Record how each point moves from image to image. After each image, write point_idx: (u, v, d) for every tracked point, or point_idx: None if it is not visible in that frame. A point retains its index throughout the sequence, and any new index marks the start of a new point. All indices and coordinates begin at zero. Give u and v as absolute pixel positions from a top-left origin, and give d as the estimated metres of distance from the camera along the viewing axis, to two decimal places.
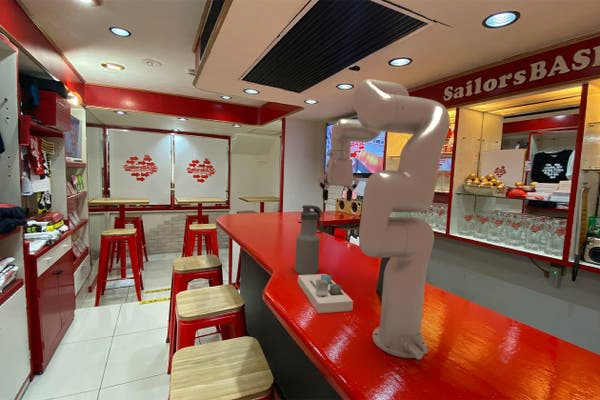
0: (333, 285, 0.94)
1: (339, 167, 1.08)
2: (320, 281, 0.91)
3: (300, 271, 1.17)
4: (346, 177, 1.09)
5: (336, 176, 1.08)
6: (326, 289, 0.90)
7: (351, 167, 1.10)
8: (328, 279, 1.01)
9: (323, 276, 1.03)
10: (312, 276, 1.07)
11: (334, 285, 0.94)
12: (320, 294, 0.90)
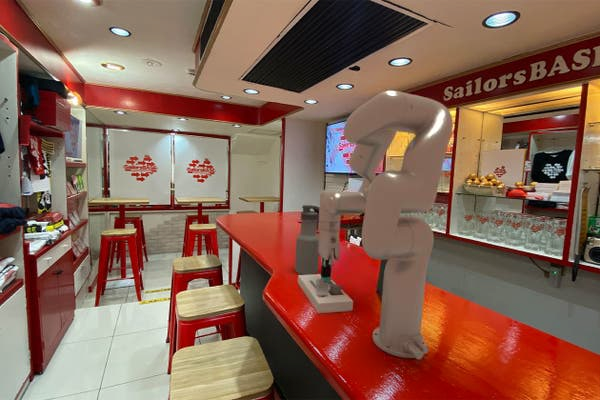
0: (333, 285, 0.94)
1: None
2: (320, 281, 0.91)
3: (300, 271, 1.17)
4: None
5: None
6: (326, 289, 0.90)
7: None
8: (328, 279, 1.01)
9: None
10: (312, 276, 1.07)
11: (334, 285, 0.94)
12: (320, 294, 0.90)
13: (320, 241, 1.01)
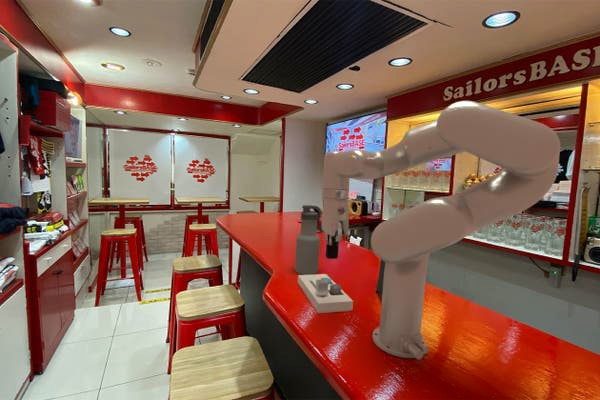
0: (333, 285, 0.94)
1: None
2: (320, 281, 0.91)
3: (300, 271, 1.17)
4: None
5: None
6: (326, 289, 0.90)
7: None
8: (328, 282, 1.01)
9: None
10: (312, 276, 1.07)
11: (334, 285, 0.94)
12: (320, 294, 0.90)
13: (325, 214, 0.83)
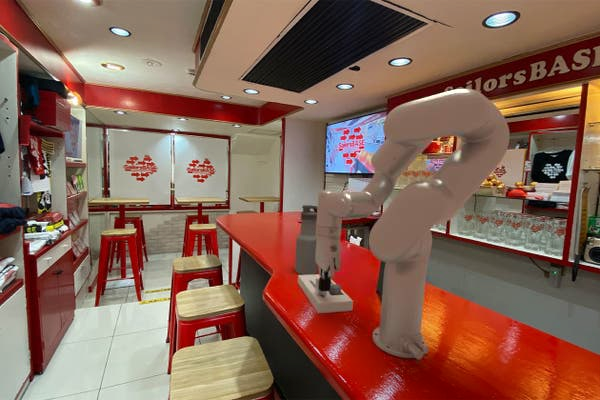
0: (333, 285, 0.94)
1: None
2: None
3: (300, 271, 1.17)
4: None
5: None
6: None
7: None
8: None
9: None
10: (312, 276, 1.07)
11: (334, 285, 0.94)
12: (319, 293, 0.90)
13: (318, 249, 0.87)
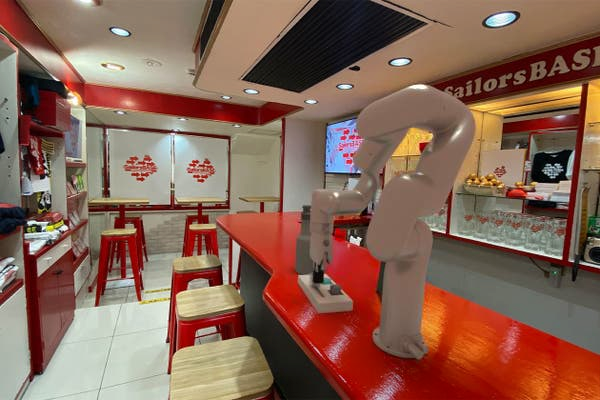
0: (333, 285, 0.94)
1: None
2: None
3: (300, 271, 1.17)
4: None
5: None
6: None
7: None
8: (328, 282, 1.01)
9: None
10: None
11: (334, 285, 0.94)
12: (313, 286, 0.96)
13: (312, 244, 0.93)
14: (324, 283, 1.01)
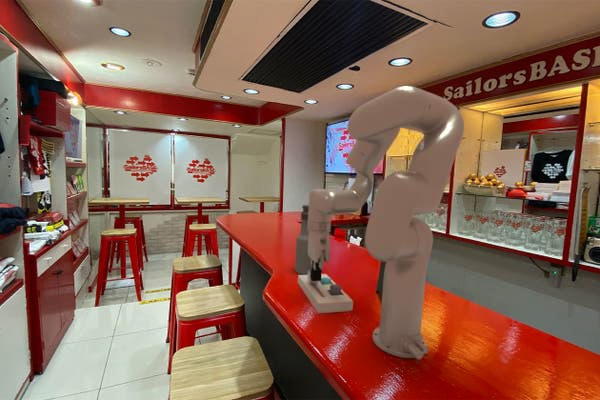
0: (333, 285, 0.94)
1: None
2: None
3: (300, 271, 1.17)
4: None
5: None
6: None
7: None
8: (328, 282, 1.01)
9: (322, 279, 1.03)
10: None
11: (334, 285, 0.94)
12: (311, 283, 0.99)
13: (310, 242, 0.96)
14: (324, 283, 1.01)
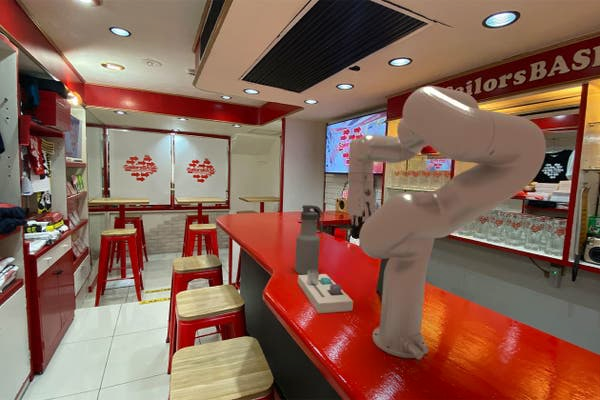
0: (333, 285, 0.94)
1: None
2: (311, 271, 1.00)
3: (300, 271, 1.17)
4: None
5: None
6: (317, 278, 0.99)
7: None
8: (328, 282, 1.01)
9: (322, 279, 1.03)
10: None
11: (334, 285, 0.94)
12: (311, 283, 0.99)
13: (351, 197, 0.89)
14: (324, 283, 1.01)
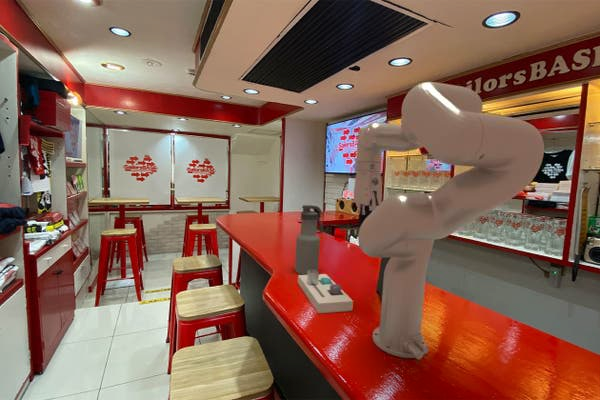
0: (333, 285, 0.94)
1: None
2: (311, 271, 1.00)
3: (300, 271, 1.17)
4: None
5: None
6: (317, 278, 0.99)
7: None
8: (328, 282, 1.01)
9: (322, 279, 1.03)
10: None
11: (334, 285, 0.94)
12: (311, 283, 0.99)
13: (359, 186, 0.89)
14: (324, 283, 1.01)
